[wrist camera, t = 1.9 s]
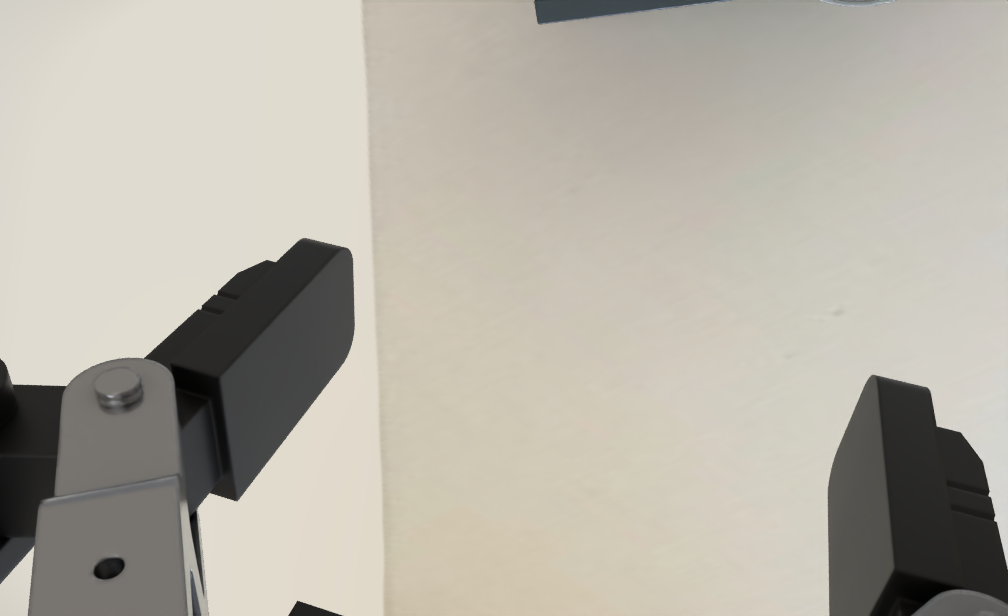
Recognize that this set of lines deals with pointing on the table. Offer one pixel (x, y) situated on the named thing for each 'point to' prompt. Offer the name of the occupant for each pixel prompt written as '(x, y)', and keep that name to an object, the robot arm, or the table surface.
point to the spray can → (857, 2)
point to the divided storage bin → (602, 8)
